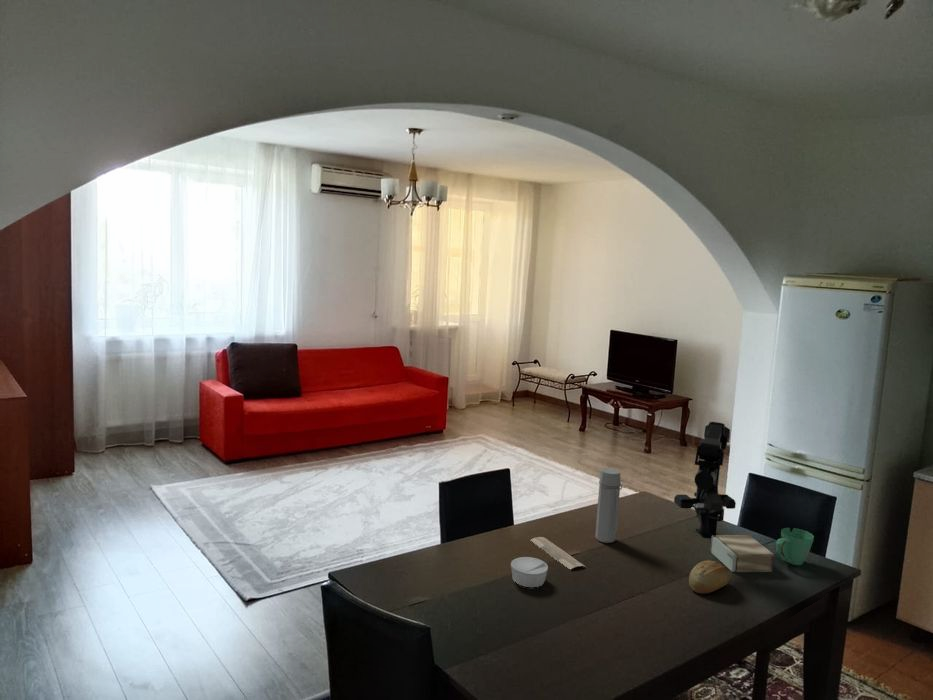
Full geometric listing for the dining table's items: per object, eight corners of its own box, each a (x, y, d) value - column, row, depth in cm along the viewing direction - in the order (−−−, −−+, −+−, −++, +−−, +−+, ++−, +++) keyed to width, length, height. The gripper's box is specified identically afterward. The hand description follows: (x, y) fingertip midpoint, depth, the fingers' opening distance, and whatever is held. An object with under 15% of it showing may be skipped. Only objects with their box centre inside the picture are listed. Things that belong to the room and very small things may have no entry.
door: (709, 550, 227) (711, 535, 226) (712, 550, 227) (713, 535, 226) (731, 571, 212) (733, 555, 211) (735, 571, 212) (736, 555, 211)
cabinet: (714, 551, 227) (715, 535, 226) (747, 551, 228) (748, 535, 227) (736, 572, 212) (738, 554, 211) (771, 571, 213) (773, 554, 213)
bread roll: (736, 587, 202) (739, 562, 201) (709, 601, 192) (712, 575, 191) (708, 575, 209) (710, 551, 208) (681, 588, 200) (683, 562, 199)
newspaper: (585, 569, 210) (585, 564, 210) (567, 573, 207) (567, 568, 207) (544, 540, 231) (544, 535, 231) (527, 543, 228) (527, 538, 228)
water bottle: (590, 537, 234) (595, 468, 231) (608, 534, 237) (613, 466, 234) (605, 547, 226) (611, 476, 223) (624, 544, 229) (630, 474, 226)
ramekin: (545, 593, 193) (546, 575, 192) (507, 587, 195) (508, 570, 194) (548, 575, 204) (549, 559, 203) (512, 570, 206) (513, 554, 205)
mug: (789, 553, 228) (792, 525, 227) (816, 565, 220) (820, 536, 219) (762, 561, 221) (765, 532, 220) (789, 573, 213) (793, 544, 211)
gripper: (690, 489, 207) (685, 536, 209) (746, 489, 209) (741, 536, 211) (675, 477, 218) (671, 522, 220) (729, 477, 220) (724, 522, 222)
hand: (702, 526), depth 218 cm, fingers closed
